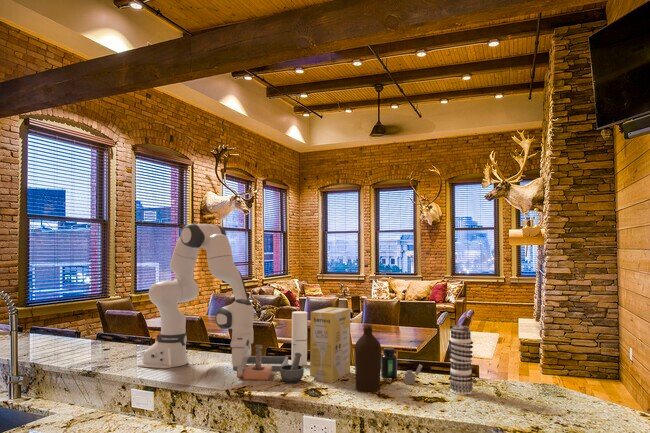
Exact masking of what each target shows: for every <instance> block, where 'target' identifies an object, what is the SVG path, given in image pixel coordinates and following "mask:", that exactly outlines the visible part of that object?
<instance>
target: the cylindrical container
mask: <svg viewBox="0 0 650 433" xmlns="http://www.w3.org/2000/svg"><path fill="white" fill-rule="evenodd" d="M295 353H300V354H302V356H301V357H300V362H299V365H300V366H303V367H304V366H307V365H308V360H307V359H308V311H303V310H302V311H301V310H299V311H297V310H296V311H292V312H291V362H290V363H291V364H290V365H292V364H293V361H294V358H295Z"/></svg>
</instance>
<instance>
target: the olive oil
mask: <svg viewBox="0 0 650 433" xmlns="http://www.w3.org/2000/svg"><path fill="white" fill-rule="evenodd" d="M353 350H354V352H353V353H354V371H355V372H354V373H355V390H356V391H358V392H361V393H368V392H370V393H377V392H378V391H380V390H381V356H382V352H383V351H382V346H381V343H380V341H379V340H378V339H377V338H376V336H375V335H374V334H373V325H372V323H364V324H363V334H362V335H361V337H359V339H358V340H356V342H355V345H354V349H353Z"/></svg>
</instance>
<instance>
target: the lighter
mask: <svg viewBox="0 0 650 433" xmlns="http://www.w3.org/2000/svg"><path fill="white" fill-rule="evenodd" d="M422 368H423V365H422V364H420V363H419V365H418V366H417V368H416V370H415V372H413V370H406V372H404V384H405V383H408V384H407V385H410V384H415V385H416V376H419V374H420V372H421V370H422Z"/></svg>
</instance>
